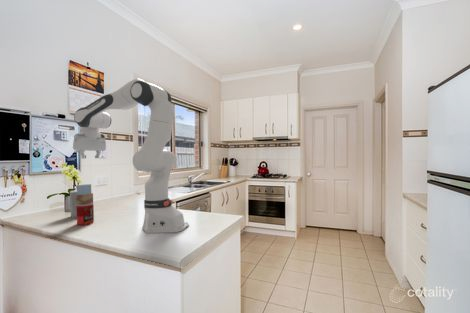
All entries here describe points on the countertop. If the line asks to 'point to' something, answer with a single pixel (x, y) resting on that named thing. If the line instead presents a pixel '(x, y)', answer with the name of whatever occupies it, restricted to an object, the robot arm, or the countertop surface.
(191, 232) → the countertop surface
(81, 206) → the canned food
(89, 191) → the slate block
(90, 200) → the walnut block
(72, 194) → the skincare box
